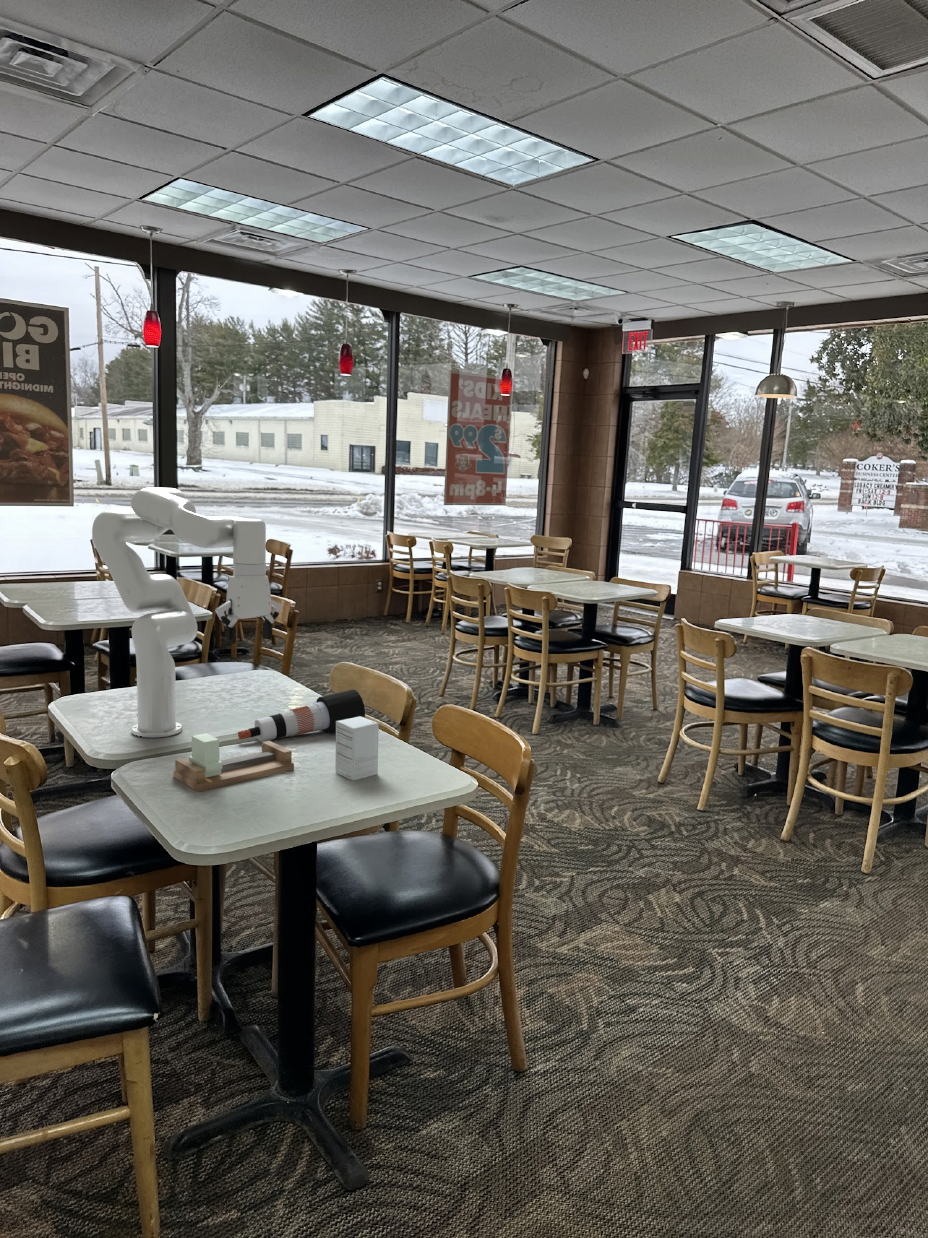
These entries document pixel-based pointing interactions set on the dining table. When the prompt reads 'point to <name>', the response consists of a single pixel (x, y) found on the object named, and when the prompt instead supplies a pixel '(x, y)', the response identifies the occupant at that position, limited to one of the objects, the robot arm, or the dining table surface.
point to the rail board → (237, 768)
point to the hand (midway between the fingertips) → (249, 640)
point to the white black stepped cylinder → (308, 717)
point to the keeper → (206, 754)
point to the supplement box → (357, 748)
